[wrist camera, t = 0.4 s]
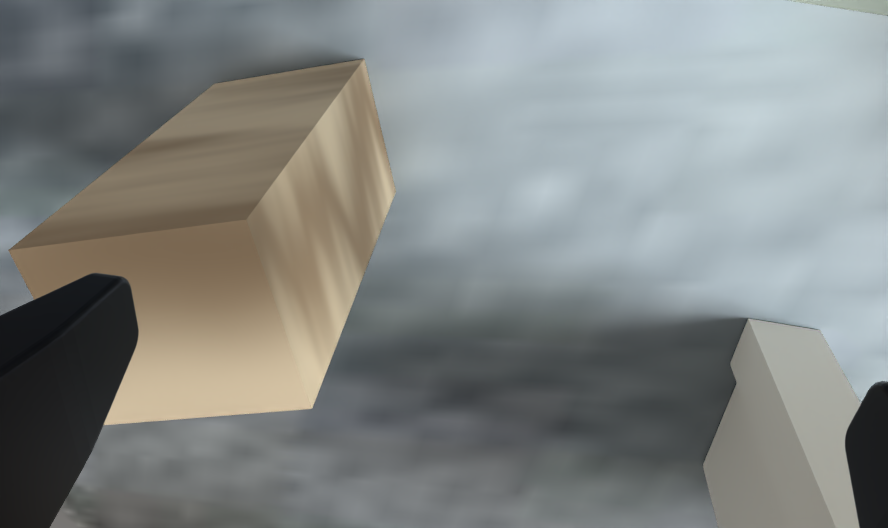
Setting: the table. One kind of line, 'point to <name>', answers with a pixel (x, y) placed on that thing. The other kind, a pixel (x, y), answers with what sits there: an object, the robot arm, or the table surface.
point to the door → (853, 5)
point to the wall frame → (783, 434)
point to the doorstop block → (232, 242)
